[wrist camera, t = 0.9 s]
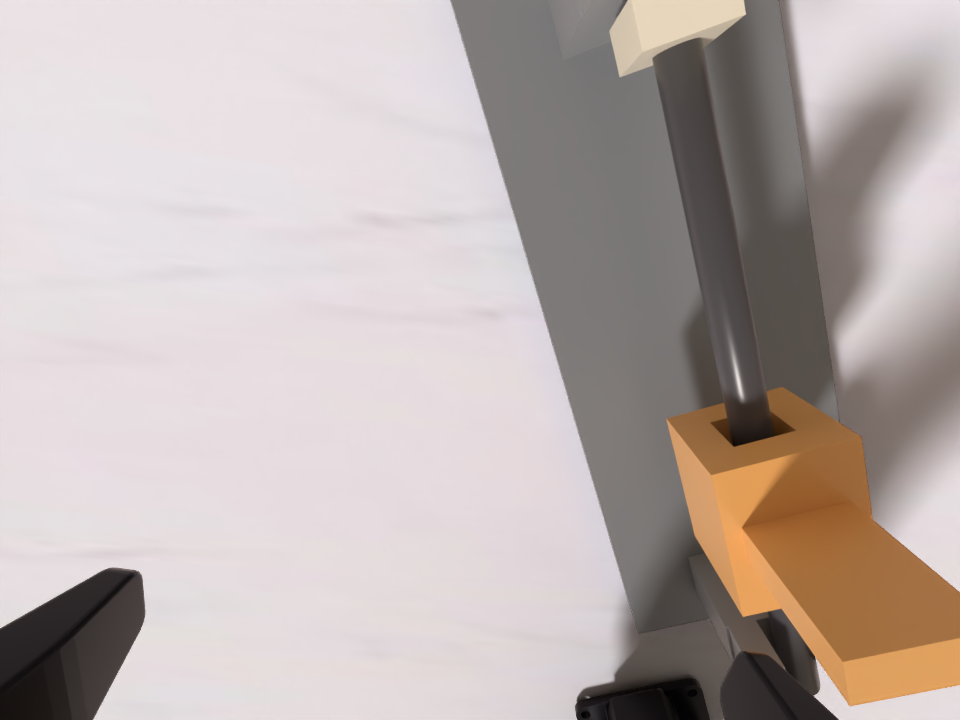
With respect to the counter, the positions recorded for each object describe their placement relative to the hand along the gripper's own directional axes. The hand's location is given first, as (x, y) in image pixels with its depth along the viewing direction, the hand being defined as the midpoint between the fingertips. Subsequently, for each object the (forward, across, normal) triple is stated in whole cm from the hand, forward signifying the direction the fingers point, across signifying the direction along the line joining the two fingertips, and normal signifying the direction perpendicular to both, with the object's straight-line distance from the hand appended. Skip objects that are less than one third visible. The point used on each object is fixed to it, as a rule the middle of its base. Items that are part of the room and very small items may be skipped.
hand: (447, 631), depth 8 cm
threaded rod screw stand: (+14, -8, -2) cm, 17 cm away
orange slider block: (+10, -10, +2) cm, 14 cm away
